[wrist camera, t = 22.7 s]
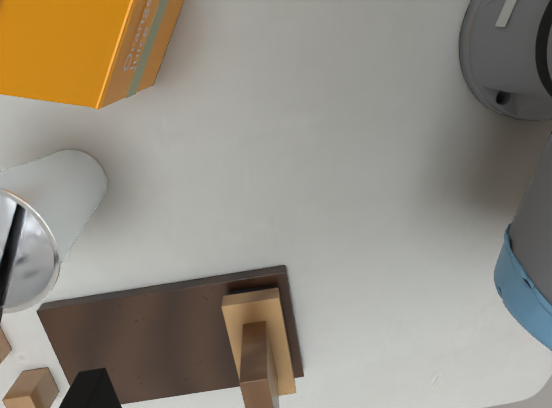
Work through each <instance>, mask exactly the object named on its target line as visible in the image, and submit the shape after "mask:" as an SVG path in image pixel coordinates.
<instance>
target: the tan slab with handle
mask: <svg viewBox="0 0 552 408" xmlns="http://www.w3.org/2000/svg"><path fill="white" fill-rule="evenodd" d="M222 311H223V315H224V319H225V323H226V328H227V332H228V336H229V340H230V344H231V348H232V352H233V356H234V360H235V364H236V369H237V373H238V377H239V381H240V382H239V383H240V387H241V391H242V396H243V400H244V404H245V408H279V395H286V394H293V393H296V386H295V378H294V372H293V367H292V361H291V355H290V350H289V344H288V339H287V333H286V327H285V322H284V316H283V311H282V305H281V299H280V294H279V288H275V287H274V284H273V285H266V286H260V287H253V288H247V289H240V290H233V291H229V295H226V296H223V300H222Z"/></svg>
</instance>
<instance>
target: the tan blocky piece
mask: <svg viewBox="0 0 552 408" xmlns="http://www.w3.org/2000/svg"><path fill="white" fill-rule="evenodd" d="M58 393H59V391H58V388H57V386H56V384H55V382H54V380H53V378H52V376H51V373H50V371H49V369H48V368H41V369H35V370H28V371H23V372H22V373H21V374H20V376H19V377H18V379H17V380H16V381H15V383H14V384H13V386H12V387H11V388H10V390H9V391H8V393H7V394H6V395H5V397H4V398H3V400H2V401H3V403H4V405H5V407H6V408H50V407H51V405H52V403H53V402H54V400H55V398H56V396H57V395H58Z"/></svg>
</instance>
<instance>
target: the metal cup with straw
mask: <svg viewBox="0 0 552 408" xmlns="http://www.w3.org/2000/svg"><path fill="white" fill-rule="evenodd" d="M107 186H108V183H107V177H106V174H105V171H104V169H103V168H102V166H101V165H100V164H99V163H98V161H97V160H95V159H94V158H93V157H92V156H90V155H88V154H86V153H84V152H82V151H78V150H71V149H68V150H61V151H58V152H56V153H54V154H51V155H48V156H45V157H43V158H40V159H37V160H34V161H31V162H27V163H22V164H19V165H16V166H13V167H10V168H7V169H4V170H1V171H0V322H1V317H2V314H6V313H13V312H18V311H22V310H25V309H27V308H30V307H32V306H34V305H35V304H37V303H38V302H40V301H41V300H42V299H44V298H45V297H46V296H47V295H48V293H49V292H50V291H51V290H52V288H53V287H54V285H55V283H56V281H57V279H58V276H59V272H60V264H61V263H62V261H63V260H64V258H65V257H66V255H67V254H68V252H69V250H70V249H71V247H72V246H73V244H74V243H75V241H76V240H77V238H78V237H79V235H80V234H81V232H82V230H83V229H84V227H85V226H86V223H87V221H88V220H89V218H90V217H91V215H92V214H93V212H94V211H95V209H96V208H97V206H98V205H99V203H100V202H101V201H102V200H103V198H104V197H105V195H106V192H107Z"/></svg>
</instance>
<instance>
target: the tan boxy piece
mask: <svg viewBox="0 0 552 408" xmlns="http://www.w3.org/2000/svg"><path fill="white" fill-rule="evenodd" d="M10 351H11V347H10V345H9V343H8V341H7V340H6V338H5V336H4V334H3V332H2V330H1V328H0V364H1V363H2V361H3V360H4V359H5V358H6V356H7V355H8V354H9V353H10Z"/></svg>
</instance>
